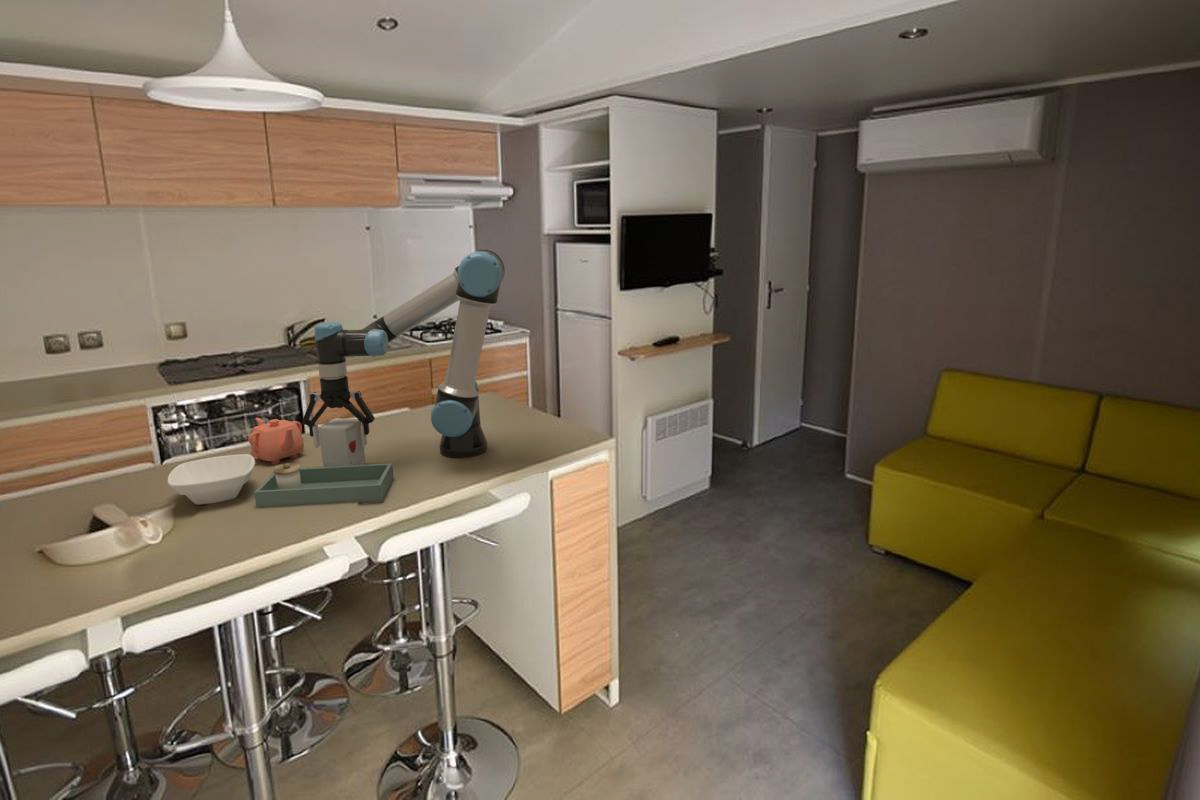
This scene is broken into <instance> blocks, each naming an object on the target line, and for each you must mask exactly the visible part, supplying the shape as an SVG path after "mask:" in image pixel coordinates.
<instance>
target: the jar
mask: <svg viewBox="0 0 1200 800" xmlns="http://www.w3.org/2000/svg"><path fill="white" fill-rule="evenodd" d="M275 476H276V483H277V489H296V488H302V484H301V478H300V471H299V470H298V471H296V472H294V473H290V474H284V475H278V474H275Z"/></svg>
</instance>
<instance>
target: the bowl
mask: <svg viewBox="0 0 1200 800" xmlns="http://www.w3.org/2000/svg"><path fill="white" fill-rule="evenodd" d="M255 465H256V460H255V458H254V456H252V455H251V453H250V454H248V453H245V454H244V453H243V454H241V453H239V454H228V455H221V456H213V457H207V458H201V459H196V460H191V461H186V462H182V463H180V464H178V465H177V466H175V467H174V468H173V469H172V470H171V471H170V472H169V475H168V476H167V485H168V486H169V487H170V488H171V489H172V490H173V491H174V492H175V493H177V494H178V495H180V496H182V495H183V496H186V497H187V498H188V499H189V500H190V501H191V502H192V503H194V504H195V505H207V504H215V503H221V502H225V501H229V500H234V499H236V498H237V497H238V496H239V494H240V493H241V490H242V488H243V485H245V484H246V483H248V481H249V480H250V478H251V477H252V476H251V475H252V473H253V471H254V468H255Z"/></svg>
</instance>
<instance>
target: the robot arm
mask: <svg viewBox="0 0 1200 800" xmlns="http://www.w3.org/2000/svg"><path fill="white" fill-rule="evenodd" d="M505 272H506V271H505V264H504V260H502V258H501V257H500V255H499V254H497V253H496V252H495V251H493V250H489V249H478V250H475V251H473V252H470V253H469V254H468V253H467V255H466V256H465V257H464V258H463V259H462V260H461V261H460V264H459V265H458V266H456V267H455V268H454V270H453V273H452V274H449V276H448V275H447V276H446V277H445V278H444V279H442V280H439V282H436V283H435V284H434V285H431V286H430V287H429V288H427V289H426V290H423V291H422V292H421V293H419V294H417V295H415V296H414V297H412V298H411V299H408V300H407V301H406V302H404V303H402V304H401V305H399V306H398V307H396V308H395V309H393V310H391V311H389V312H388V313H386V314H385V315H383V316H382V317H379V318H378V319H376V320H374V321H372V322H370V324H368V325H367V326H364V328H361V329H344V327H343V324H342V323H340V322H335V321H334V322H333V321H328V322H327V321H326V322H320V323H318V324H316V325H315V326H314V343H315V348H316V349H315V351H316V359H317V365H318V366H317V368H318V376H319V377H320V379H319V383H320V392H321V393H319V392H318V393H317V392H316V391H313V392H312V393H311V394H310V395H309V404H307V409H306V410H305V412H304V416H303V418H302V420H301V425H303V426H307V427H308V429H309V436H310V437H311V438H313V442H314V443H313V444H314V449H318V448H320V447H321V444H320V436H319V428H318V427H319V424H318V423H317V421H318V420H319V418H320V417H321V416H322V414H324V413H325V411H326V410H327V408H330V409H342V408H345V409H346V410H347V411H348V412H350V414H352V415H353V416H354V417H355V419H358V420H359V421H360V422H361V425H360V427H361V437H362V446H364V447H366V446H367V444H368V437H367V436H369V433H370V425H369V424H371V423H373V422H374V421H375V419H376V418H375V416H374V415H373V413H372V412H371V410H370V408H369V406H368V405H367V404H366V402H365V401H364V399H363V397H362V393H361V391H360V390H357V391H354V392H351V390H349V389H350V388H349V380H348V379H349V378H348V376H347V374H348V369H347V360H346V357H377V356H378V357H379V356H381V357H382V356H385V355H386V354H387V352H388V349H389V343H390V342H393V341H394V340H396V339H397V338H398V337H400V336H402V335H403V334H405V333H407V332H409V331H411V330H412V329H413V328H415V327H417V326H419V325H420V324H422V323H424V322H425V321H428V319H430V318H432V317H434V316H435V315H437V314H438V313H440V312H442V311H443V310H446V309H447V308H449V307H450V306H451V305H454V304H455V303H457V302H459V305H458V311H457V316H456V321H455V327H454V332H453V337H452V341H451V347H450V352H449V357H448V363H447V369H446V374H445V378H444V379H445V380H444V381H443V382H441V383H440V384H439V385H438V387H437V392H436V393H437V394H436V397H435V404H434V406H433V407H432V410H431V412H430V421H431V424H432V426H433V428H434V429H435V430H436V432H438V433H439V434H441V435H442V436H441V439H440V443H439V453H440V455H441V456H442V457H446V458H451V459H466V458H473V457H476V456H479V455H482V454H484V453H485V452H487V451H488V448H489V447H488V441H487V437H486V436H485V432H484V430H483V428H482V426H481V425H482V424H481V414H480V413H481V412H480V411H481V409H480V399H479V391H480V389H479V386H478V383H477V381H476V379H477V375H478V369H479V365H480V361H481V356H482V351H483V346H484V345H483V344H484V341H485V335H486V330H487V325H488V320H489V315H490V310H491V308H492V307H494V306H496V305H497V302H498V298H499V294H500V293H499V292H500V290H501V288H500V287H501V284H502V282H503V279H504V277H505ZM351 398H352V399H353V401H354V400H355V402H356V404H357V406H358V407H359V409H360V410H359V409H358V408H357V407H356V406H355V405H354V404H353V402H352V401H350V399H351ZM320 399H321V401H322V402H323V404H322V405H321V407H320V408H319V409H318V411H317V412H316V413H315V415H314V416H313V417H312V419H311V415H312V413H313V411H314V408H315V406H316V403H317V401H318V400H320ZM310 419H311V420H310ZM316 423H317V424H316Z"/></svg>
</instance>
